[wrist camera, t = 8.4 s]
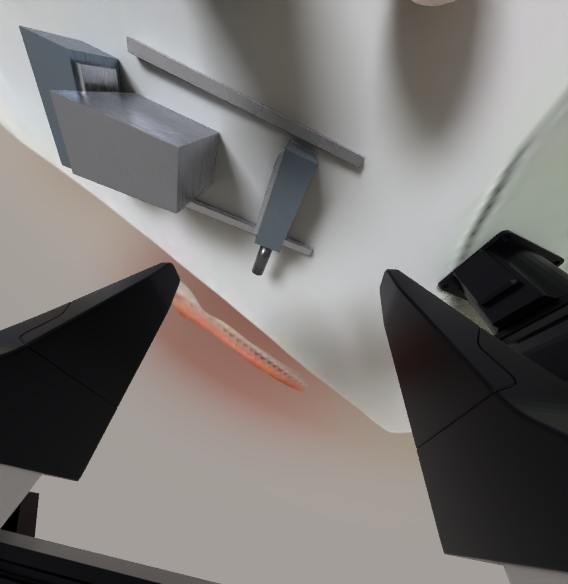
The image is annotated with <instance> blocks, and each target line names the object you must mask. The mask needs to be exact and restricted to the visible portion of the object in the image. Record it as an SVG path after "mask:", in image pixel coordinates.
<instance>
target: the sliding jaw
mask: <svg viewBox="0 0 568 584" xmlns="http://www.w3.org/2000/svg"><path fill="white" fill-rule="evenodd" d="M317 165H318V158H317V153H315V152H313V151H311V150H309V149H307V148H305V147H303V146H301V145H299V144H297V143H295V142H293V141H291V140H290V141H289V143H288V145H287V147H286V149H285V151H284V150H281V152H280V154H279V155H278V157H277V159H276V163H275V166H274V169H273V172H272V175H271V179H270V182H269V185H268V188H267V191H266V195H265V198H264V201H263V204H262V207H261V211H260V214H259V217H258V220H257V223H256V227H255V230H254V234H256V235H257V237H256V240H255V243H256V244H259V245H261V246H260V249H259V252H258V255H257V257H256V260H255V263H254V266H253V269H252V272H253V273H254V274H256V275H262V274H263V272H264V269H265V267H266V264H267V262H268V259H269V257H270V254H271V252H272V250H274V251H277V252H280V250H281V247H282V245H283V243H284V241H285V238H286V236H287V234H288V231H289V229H290V227H291V225H292V222H293V220H294V218H295V215H296V213H297V211H298V209H299V206H300V204H301V202H302V200H303V197H304V195H305V193H306V190H307V188H308V186H309V184H310V181H311V179H312V177H313V174H314V172H315V170H316V168H317Z"/></svg>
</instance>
